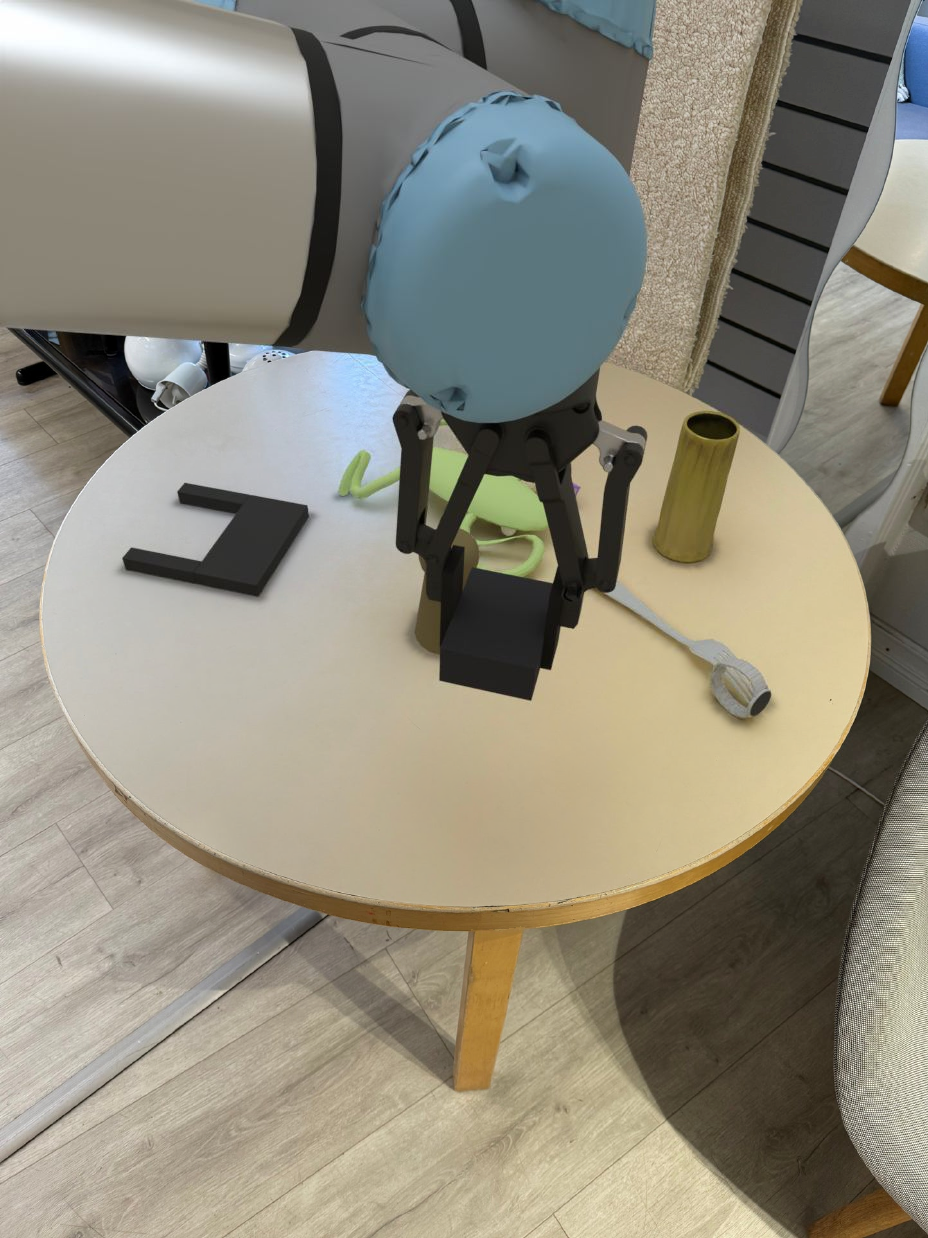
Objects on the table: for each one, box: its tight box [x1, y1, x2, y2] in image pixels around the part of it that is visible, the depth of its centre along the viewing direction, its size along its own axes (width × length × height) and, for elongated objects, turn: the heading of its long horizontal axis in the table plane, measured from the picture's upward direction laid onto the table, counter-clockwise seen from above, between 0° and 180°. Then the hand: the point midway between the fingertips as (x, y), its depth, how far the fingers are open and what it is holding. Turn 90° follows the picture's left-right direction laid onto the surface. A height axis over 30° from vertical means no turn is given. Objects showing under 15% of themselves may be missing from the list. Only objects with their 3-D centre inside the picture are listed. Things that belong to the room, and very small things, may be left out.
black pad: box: [121, 482, 310, 597], centre depth 91 cm, size 14×13×2 cm
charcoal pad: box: [438, 567, 553, 702], centre depth 59 cm, size 6×8×3 cm
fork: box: [595, 580, 754, 705], centre depth 84 cm, size 3×21×3 cm, turn 39°
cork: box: [414, 528, 480, 655], centre depth 80 cm, size 6×6×11 cm
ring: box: [709, 656, 772, 719], centre depth 76 cm, size 3×5×5 cm, turn 36°
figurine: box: [338, 419, 581, 577], centre depth 96 cm, size 18×27×6 cm
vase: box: [652, 410, 741, 563], centre depth 89 cm, size 6×6×14 cm
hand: (499, 643), depth 60 cm, fingers closed on charcoal pad, 6 cm apart
